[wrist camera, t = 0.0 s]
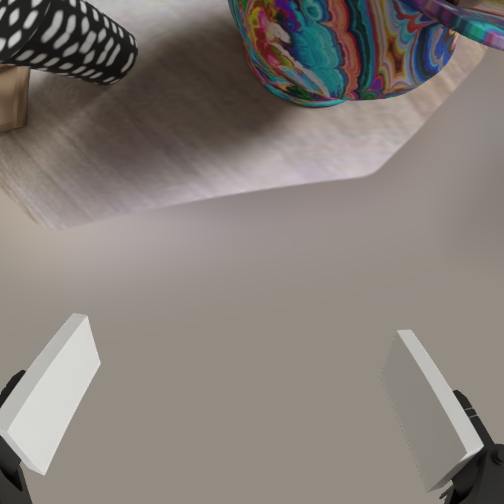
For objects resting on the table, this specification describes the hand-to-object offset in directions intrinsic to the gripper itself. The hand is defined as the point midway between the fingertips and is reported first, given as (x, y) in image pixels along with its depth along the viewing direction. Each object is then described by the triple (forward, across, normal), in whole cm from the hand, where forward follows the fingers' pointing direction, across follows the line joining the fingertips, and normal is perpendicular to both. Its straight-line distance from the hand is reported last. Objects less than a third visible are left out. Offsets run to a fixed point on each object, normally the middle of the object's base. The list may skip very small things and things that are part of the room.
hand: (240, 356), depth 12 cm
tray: (+28, -40, +18) cm, 52 cm away
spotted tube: (+28, -19, +20) cm, 40 cm away
